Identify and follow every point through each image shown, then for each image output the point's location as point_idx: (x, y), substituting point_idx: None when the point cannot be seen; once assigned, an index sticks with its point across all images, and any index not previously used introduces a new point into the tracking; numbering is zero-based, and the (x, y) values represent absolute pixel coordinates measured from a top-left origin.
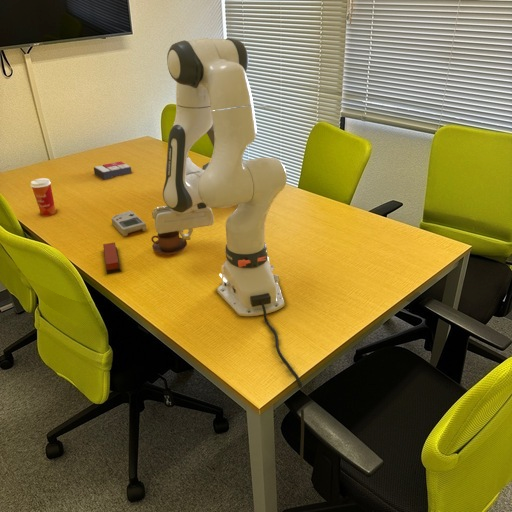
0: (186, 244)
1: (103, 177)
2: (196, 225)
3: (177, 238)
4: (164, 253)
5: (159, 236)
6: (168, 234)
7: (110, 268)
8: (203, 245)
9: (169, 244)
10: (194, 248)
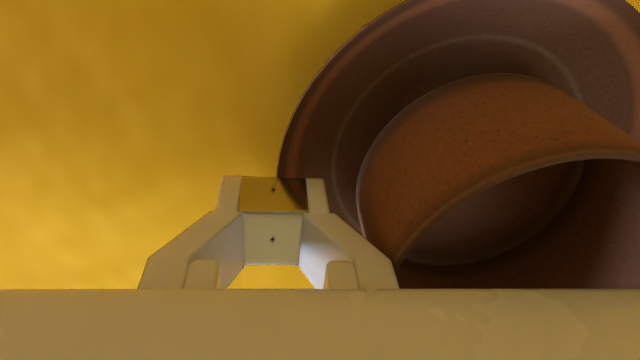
0: (295, 117)
1: None
2: (2, 333)
3: (441, 168)
4: (630, 8)
5: None
6: None
7: None
8: (88, 99)
9: (566, 104)
10: (205, 73)
